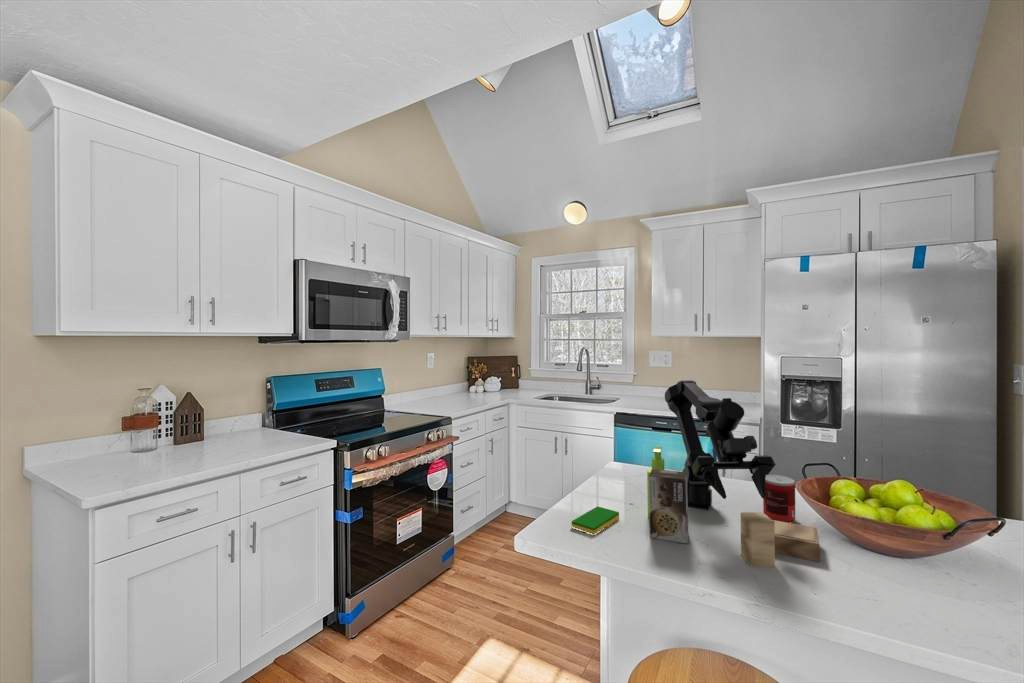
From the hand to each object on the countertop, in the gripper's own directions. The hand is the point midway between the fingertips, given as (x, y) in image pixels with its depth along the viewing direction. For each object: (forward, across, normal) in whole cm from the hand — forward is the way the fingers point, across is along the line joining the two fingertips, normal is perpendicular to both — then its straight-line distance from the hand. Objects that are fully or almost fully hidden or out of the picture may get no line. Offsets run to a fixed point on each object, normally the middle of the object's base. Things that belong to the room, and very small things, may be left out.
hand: (744, 498), depth 107 cm
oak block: (+13, 0, +5) cm, 13 cm away
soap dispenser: (-4, -15, +22) cm, 27 cm away
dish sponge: (-1, -33, +20) cm, 39 cm away
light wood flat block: (+8, +12, +9) cm, 17 cm away
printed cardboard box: (+4, -16, +14) cm, 21 cm away
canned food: (-4, +18, +21) cm, 28 cm away
